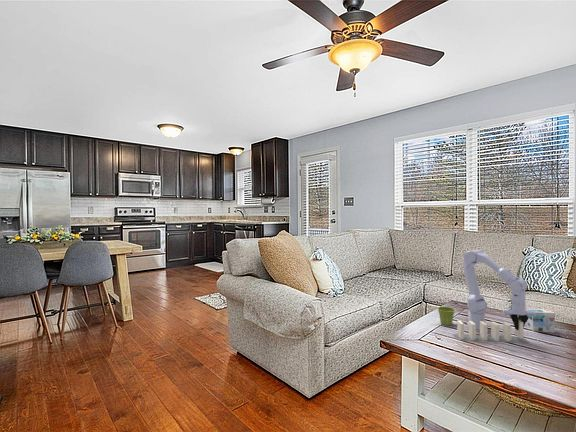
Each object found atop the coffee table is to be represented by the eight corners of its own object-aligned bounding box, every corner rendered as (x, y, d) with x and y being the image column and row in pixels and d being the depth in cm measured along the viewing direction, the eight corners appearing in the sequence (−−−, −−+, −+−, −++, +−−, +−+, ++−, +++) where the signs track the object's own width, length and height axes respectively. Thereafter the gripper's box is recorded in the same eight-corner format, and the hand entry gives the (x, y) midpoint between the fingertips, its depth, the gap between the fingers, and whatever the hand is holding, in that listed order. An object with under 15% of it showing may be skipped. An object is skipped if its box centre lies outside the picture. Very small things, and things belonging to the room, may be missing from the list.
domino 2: (472, 339, 164) (472, 324, 164) (468, 335, 169) (468, 320, 169) (475, 339, 164) (475, 324, 164) (471, 335, 169) (471, 320, 168)
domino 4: (495, 340, 162) (495, 325, 162) (491, 336, 167) (491, 321, 167) (499, 340, 162) (499, 325, 162) (494, 336, 167) (494, 321, 166)
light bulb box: (532, 331, 173) (532, 311, 172) (526, 327, 179) (526, 308, 179) (555, 332, 170) (555, 312, 170) (548, 328, 177) (548, 309, 176)
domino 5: (507, 341, 161) (507, 325, 161) (503, 337, 166) (502, 321, 166) (511, 341, 161) (511, 325, 161) (506, 337, 166) (506, 322, 165)
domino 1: (460, 339, 165) (460, 323, 165) (457, 335, 170) (457, 320, 170) (464, 339, 165) (463, 323, 165) (460, 335, 170) (460, 320, 169)
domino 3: (484, 340, 163) (483, 324, 163) (480, 336, 168) (479, 321, 168) (487, 340, 163) (487, 324, 163) (483, 336, 168) (483, 321, 167)
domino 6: (520, 338, 160) (519, 322, 160) (514, 334, 165) (514, 318, 165) (523, 338, 160) (523, 322, 159) (518, 334, 165) (517, 319, 164)
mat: (452, 334, 172) (452, 334, 172) (522, 337, 166) (522, 336, 166) (457, 340, 164) (457, 340, 164) (531, 343, 158) (531, 343, 158)
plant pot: (442, 319, 195) (441, 305, 195) (458, 323, 187) (458, 309, 187) (434, 323, 189) (434, 308, 189) (450, 327, 182) (450, 312, 181)
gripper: (506, 304, 159) (507, 331, 160) (539, 305, 157) (539, 332, 157) (500, 300, 166) (500, 326, 166) (531, 301, 164) (531, 327, 164)
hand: (518, 329), depth 162 cm, fingers closed on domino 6, 1 cm apart
